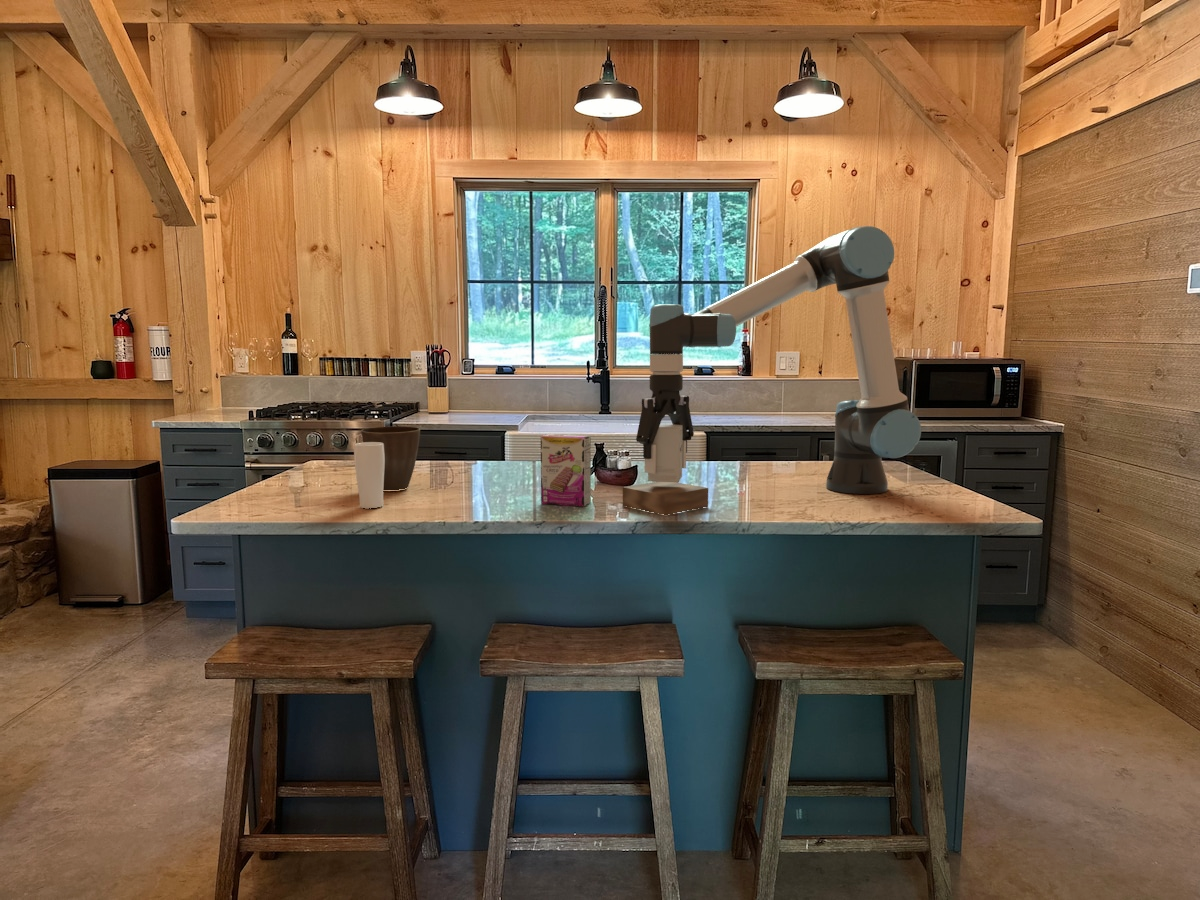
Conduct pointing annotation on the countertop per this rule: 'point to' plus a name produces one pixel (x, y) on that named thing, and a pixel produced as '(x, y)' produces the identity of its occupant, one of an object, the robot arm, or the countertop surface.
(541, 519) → the countertop surface
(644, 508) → the walnut base block
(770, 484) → the countertop surface
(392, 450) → the plant pot
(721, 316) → the robot arm
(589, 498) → the candy bar box
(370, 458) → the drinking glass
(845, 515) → the countertop surface
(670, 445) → the supplement box
